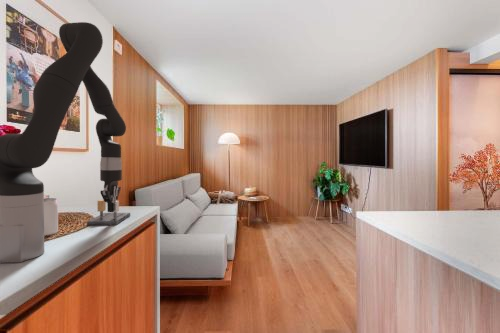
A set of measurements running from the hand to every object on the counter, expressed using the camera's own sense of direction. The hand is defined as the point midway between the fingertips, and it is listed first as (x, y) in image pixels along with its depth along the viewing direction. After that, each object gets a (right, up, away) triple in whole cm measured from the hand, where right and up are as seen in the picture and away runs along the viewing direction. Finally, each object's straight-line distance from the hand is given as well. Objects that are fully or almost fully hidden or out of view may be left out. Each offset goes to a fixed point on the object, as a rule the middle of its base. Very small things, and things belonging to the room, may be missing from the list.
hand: (111, 211), depth 100 cm
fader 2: (-1, -3, +4) cm, 5 cm away
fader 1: (-7, -3, +5) cm, 9 cm away
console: (-4, -5, +6) cm, 9 cm away
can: (-15, -6, -13) cm, 21 cm away
